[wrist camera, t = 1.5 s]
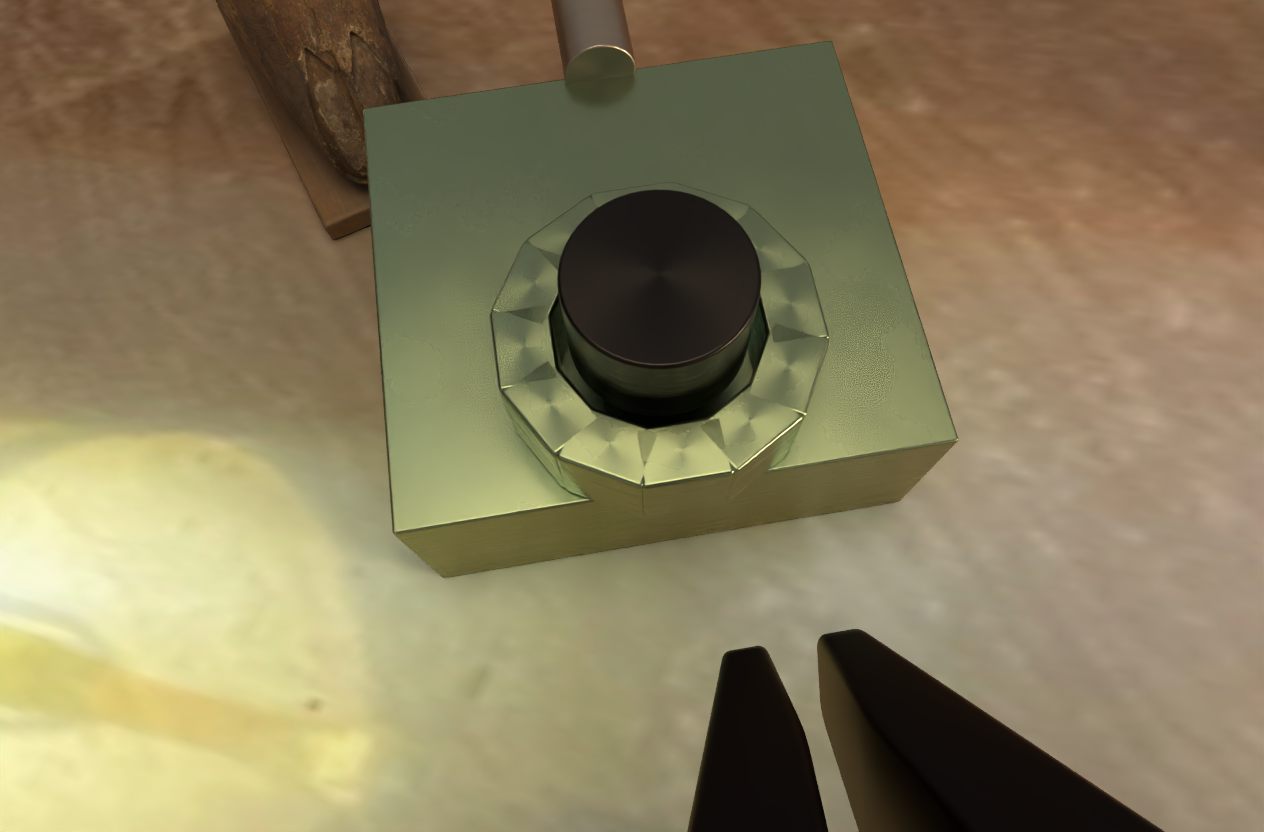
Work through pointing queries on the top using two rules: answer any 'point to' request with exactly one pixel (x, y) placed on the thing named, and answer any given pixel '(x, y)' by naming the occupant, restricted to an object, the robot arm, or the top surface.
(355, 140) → the figurine
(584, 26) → the spout
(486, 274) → the push button base
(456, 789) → the top surface
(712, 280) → the black short cylinder
